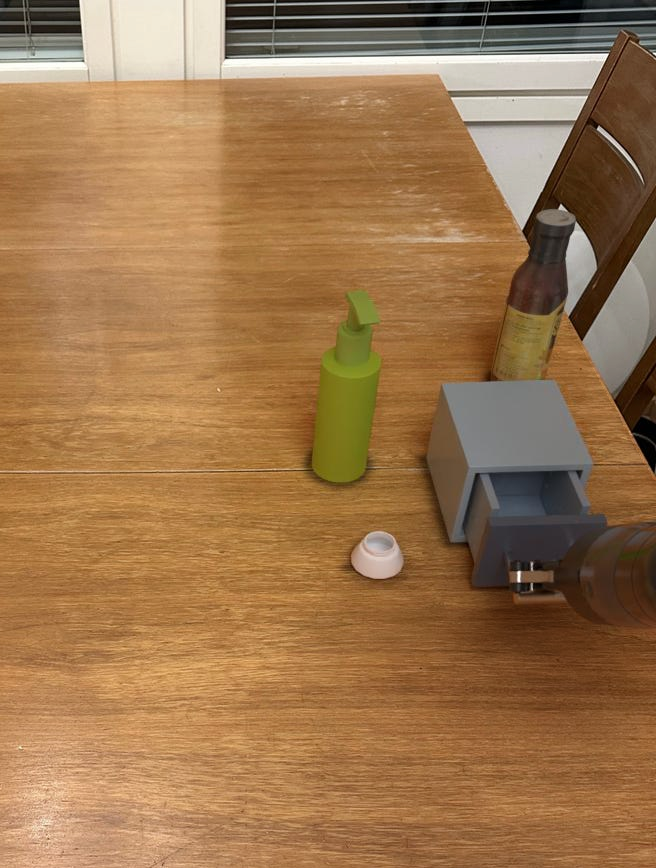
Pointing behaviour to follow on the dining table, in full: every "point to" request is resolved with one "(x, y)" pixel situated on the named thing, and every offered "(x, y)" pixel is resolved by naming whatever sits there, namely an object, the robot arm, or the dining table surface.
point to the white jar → (377, 556)
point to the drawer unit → (499, 439)
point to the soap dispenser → (347, 395)
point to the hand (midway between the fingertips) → (547, 574)
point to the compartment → (524, 524)
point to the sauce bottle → (535, 302)
